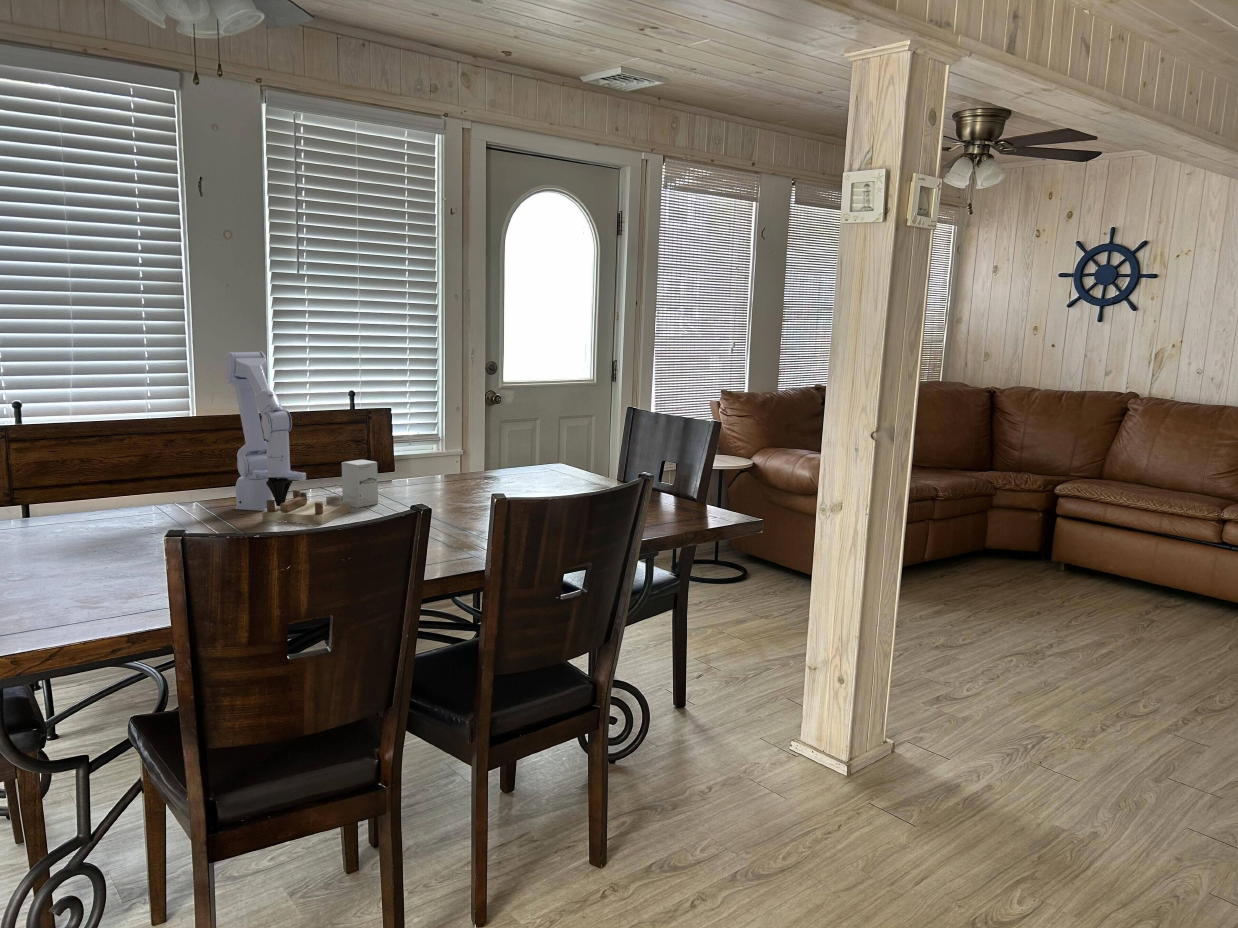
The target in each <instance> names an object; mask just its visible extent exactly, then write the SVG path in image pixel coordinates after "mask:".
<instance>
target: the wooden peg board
mask: <svg viewBox="0 0 1238 928" xmlns="http://www.w3.org/2000/svg"><path fill="white" fill-rule="evenodd" d="M300 493H301V489H293V490H292V499H294V498H297V497H299V496H301V495H300ZM325 497H326V499H325V500H326V501H325V500H324V501H323V500H312V499H311V500H308V499H307V504H305V505H303V506H300V507H298V508H296V509H293V510H291V511H288V512H281V511H280V506H276V507H275V500H267V510H266V511H261V514H262V522H269V521H287V522H296V523H295V524H300V523H303V524H304V525H316V526H317V525H318V526H319V525H320V526H322V525H321V524H323V525H325V524H327V523H329V522H331V521H333V520H335V519H338V518H339V517H341V516H343V515H345V514H347V513H350V511H351V510H350V509H351V508H350V507H351V506H350V503H345V502H343V495H331V494H330V495H327V496H325ZM303 524H302V525H303Z"/></svg>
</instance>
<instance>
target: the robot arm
mask: <svg viewBox="0 0 1238 928" xmlns="http://www.w3.org/2000/svg"><path fill="white" fill-rule="evenodd" d="M267 367H268V361H267V356H266V355H265V354H264V352H263V351H262V350H261V351H248V352H247V351H244V352H243V351H242V352H240V351H239V352H232V351H229V352H227V353H226V354H225V357H224V368H225V374H226V379H227V383H228V384H229V385H231V386H233V387H234V390H235V393H236V394H235V395H236V401H237V405H238V411H239V416H240V421H241V426H242V430H243V435H244V444H243V445H242V446H241V447H240V448H239V449H238V451H237V453H236V457H237V463H236V464H237V471H238V473H239V474H240V477H238V478H237V480H236V483H235V499H236V500H235V501H236V507H234V509H235V510H242V511H243V510H244V511H245V510H247V511H261V512H263V511H266V510H267V500H275V507H276V506H280V504H282V503H284V502H286V501H287V496H288V493H289V490H290V488H291V485H292V483H293V481H299V482H304V481H306V480H307V472H300V471H294V470H291V462H290V461H291V460H290V456H291V455H290V436H289V434H290V433H289V432H291V430H292V428H293V420H292V415H291V413H290V411H289V410H287V409H286V408H285V407H283V406H282V403H281V401H280V400H279V397H278V395H277V393H276V391H274V390H271V389H270V387H269V384H268V380H267V377H266V371H267ZM260 416H261V418H260Z"/></svg>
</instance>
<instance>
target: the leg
mask: <svg viewBox="0 0 1238 928" xmlns="http://www.w3.org/2000/svg"><path fill="white" fill-rule="evenodd" d="M300 495H301V496H299V497H297V498H294V499H293V498H292V499H289V500H286V501H285V502H284V503H282V504H280V511H281V512H288V511H291V510H293V509H296V508H298V507H300V506H303V505H305V504H307V500H308V497H307V495H308V494H307V492H306V491H300Z"/></svg>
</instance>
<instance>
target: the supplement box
mask: <svg viewBox="0 0 1238 928" xmlns="http://www.w3.org/2000/svg"><path fill="white" fill-rule="evenodd" d="M378 475H379V474H378V462H377V461H373V460H367V459H356V460H348V461H342V462H341V483H342V485H341V487H342V490H341V491H342V496H343V502H345V503H350V507H352V508H356V509H359V508H362V507H368V506H375V505H378V504H379V488H378V487H379V486H378V483H379V482H378V480H379V479H378V478H379V477H378Z"/></svg>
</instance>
